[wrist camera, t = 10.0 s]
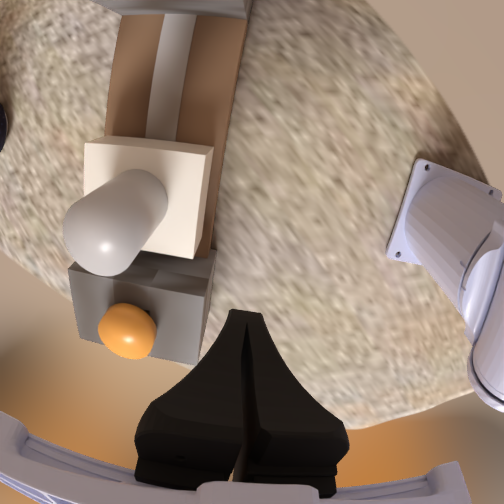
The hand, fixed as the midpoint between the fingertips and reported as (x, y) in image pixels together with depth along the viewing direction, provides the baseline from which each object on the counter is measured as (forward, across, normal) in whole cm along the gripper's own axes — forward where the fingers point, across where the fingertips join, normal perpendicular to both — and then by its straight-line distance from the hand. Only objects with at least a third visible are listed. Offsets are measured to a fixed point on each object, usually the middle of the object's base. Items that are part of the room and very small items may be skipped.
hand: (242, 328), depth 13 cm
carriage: (+9, +7, -3) cm, 11 cm away
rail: (+11, +6, -5) cm, 13 cm away
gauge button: (+6, +7, +5) cm, 10 cm away
